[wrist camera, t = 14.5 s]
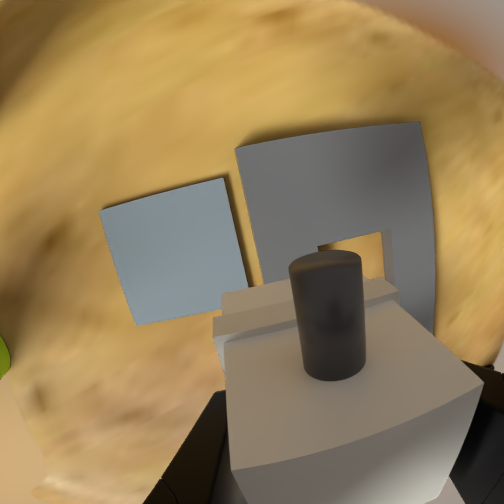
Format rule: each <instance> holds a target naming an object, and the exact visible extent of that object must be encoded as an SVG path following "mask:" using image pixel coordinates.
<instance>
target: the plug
mask: <svg viewBox="0 0 504 504" xmlns="http://www.w3.org/2000/svg"><path fill="white" fill-rule="evenodd" d="M288 270H289V276H290V279H286V280H282V281H277V282H273V283H269V284H264V285H260V286H255V287H251V288H246V289H241V290H237V291H232V292H228V293H223V294H222V316H218V317H213V340H214V343H215V346H216V350H217V353H218V356H219V360H220V363H221V366H222V369H223V372H224V375H225V386H226V404H227V421H228V436H229V451H230V465H231V472H232V474H233V476H234V478H235V480H236V482H237V484H238V486H239V488H240V490H241V492H242V494H243V496H244V498H245V500H246V502H247V504H425V503H427V502H429V501H431V500H433V499H435V498H436V497H438V496H439V494H440V492H441V490H442V488H443V486H444V484H445V482H446V480H447V478H448V476H449V474H450V472H451V470H452V468H453V465H454V463H455V461H456V459H457V457H458V454H459V452H460V450H461V447H462V445H463V442H464V440H465V437H466V435H467V432H468V430H469V427H470V424H471V422H472V419H473V416H474V413H475V410H476V407H477V404H478V401H479V398H480V395H481V392H482V388H483V385H484V382H483V381H482V380H481V379H480V378H479V377H478V376H477V375H476V374H475V373H474V372H473V371H472V370H470V369H469V368H468V367H467V366H466V365H465V364H464V363H463V362H462V361H461V360H460V359H459V358H458V357H457V356H455V355H454V354H453V353H452V352H451V351H450V350H449V349H448V348H447V347H446V346H445V345H443V344H442V343H441V342H440V341H439V340H438V339H437V338H436V337H435V336H433V335H432V334H431V333H430V332H429V331H428V330H427V329H426V328H424V327H423V326H422V325H421V324H420V323H419V322H418V321H417V320H415V319H414V318H413V317H412V316H411V315H410V314H409V313H407V312H406V311H405V310H404V309H403V308H402V307H400V306H399V290H398V289H397V288H395V287H394V286H393V285H392V284H390V283H389V282H388V281H386V280H385V279H384V278H382V277H380V278H376V279H372V280H369V279H367V278H366V277H365V276H364V275H363V274H362V263H361V257H360V256H359V255H358V254H356V253H354V252H350V251H344V250H328V251H320V252H315V253H311V254H307V255H304V256H302V257H299V258H297V259H296V260H294V261H293V262H292V263H291V264H290V265H289V267H288Z"/></svg>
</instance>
